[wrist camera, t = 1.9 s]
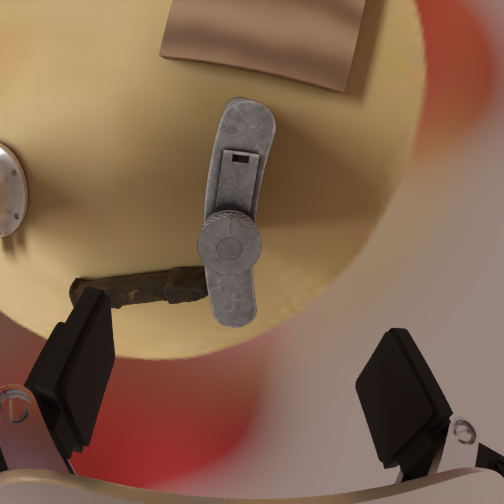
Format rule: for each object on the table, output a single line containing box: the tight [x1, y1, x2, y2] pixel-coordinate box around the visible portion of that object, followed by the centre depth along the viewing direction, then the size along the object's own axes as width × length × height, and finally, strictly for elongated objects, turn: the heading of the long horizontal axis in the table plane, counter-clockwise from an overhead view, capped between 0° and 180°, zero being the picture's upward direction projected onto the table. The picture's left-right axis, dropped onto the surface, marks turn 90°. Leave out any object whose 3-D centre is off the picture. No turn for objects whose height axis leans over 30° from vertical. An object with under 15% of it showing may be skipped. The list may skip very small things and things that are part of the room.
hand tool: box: [69, 267, 209, 309], centre depth 36 cm, size 19×4×5 cm, turn 95°
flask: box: [197, 97, 276, 328], centre depth 24 cm, size 4×14×18 cm, turn 175°
